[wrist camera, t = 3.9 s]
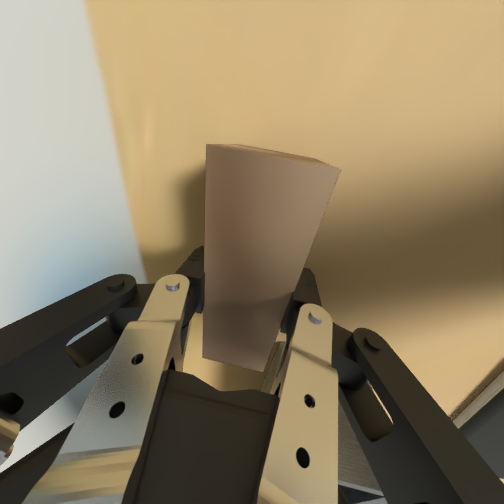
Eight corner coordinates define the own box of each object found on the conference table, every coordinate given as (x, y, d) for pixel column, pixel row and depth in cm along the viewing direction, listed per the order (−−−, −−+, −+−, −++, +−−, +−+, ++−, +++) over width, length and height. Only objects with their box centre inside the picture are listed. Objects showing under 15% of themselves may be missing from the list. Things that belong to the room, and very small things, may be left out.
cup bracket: (361, 360, 17) (413, 499, 10) (308, 418, 26) (318, 516, 19) (280, 341, 18) (278, 464, 11) (254, 404, 26) (244, 496, 19)
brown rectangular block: (314, 158, 9) (341, 169, 5) (268, 310, 16) (262, 372, 11) (240, 144, 10) (206, 144, 5) (223, 300, 16) (202, 357, 12)
